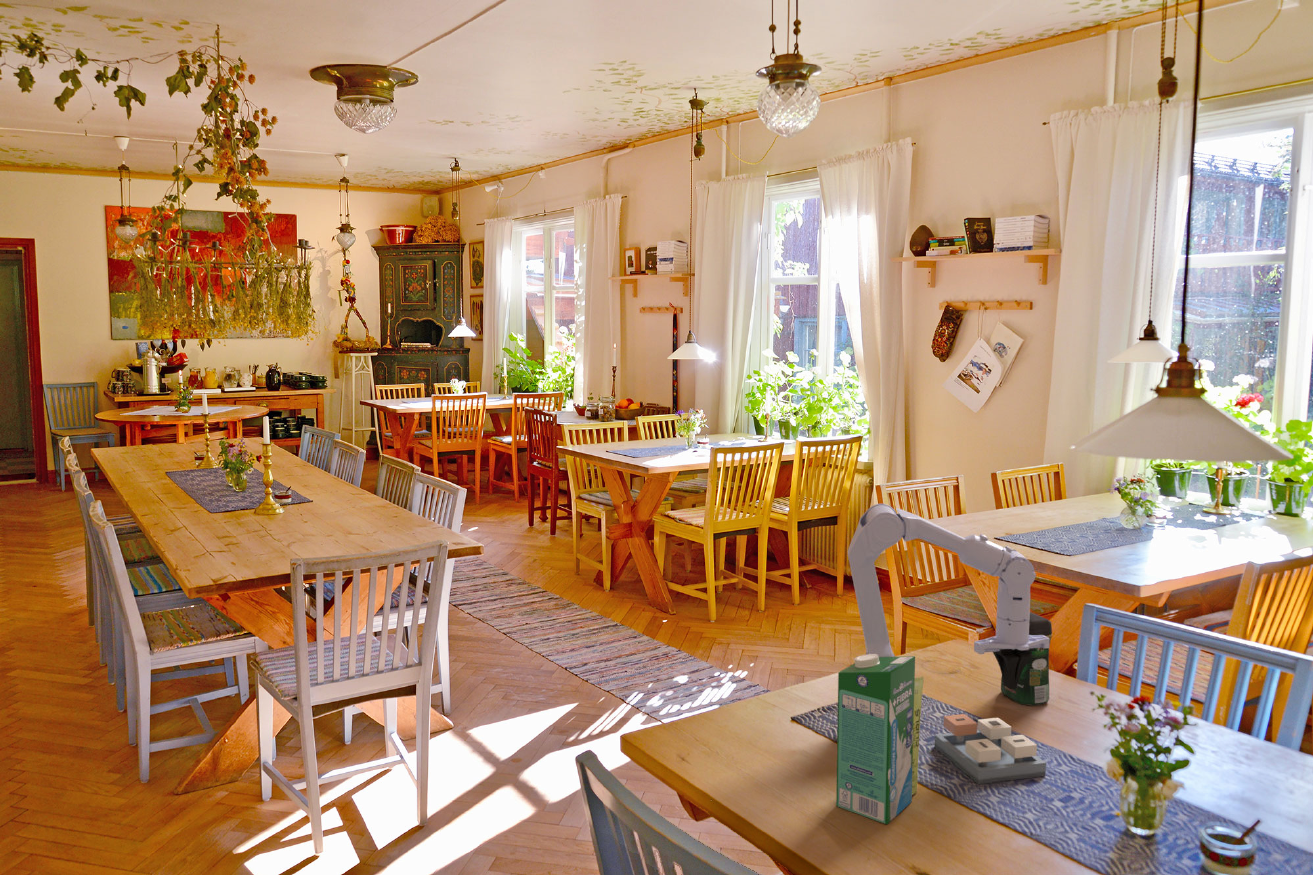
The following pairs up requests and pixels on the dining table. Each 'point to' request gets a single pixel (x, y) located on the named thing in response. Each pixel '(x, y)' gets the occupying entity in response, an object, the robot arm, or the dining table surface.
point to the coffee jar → (1033, 669)
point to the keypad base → (994, 769)
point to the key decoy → (960, 726)
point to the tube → (916, 730)
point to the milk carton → (875, 736)
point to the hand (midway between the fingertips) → (1010, 687)
